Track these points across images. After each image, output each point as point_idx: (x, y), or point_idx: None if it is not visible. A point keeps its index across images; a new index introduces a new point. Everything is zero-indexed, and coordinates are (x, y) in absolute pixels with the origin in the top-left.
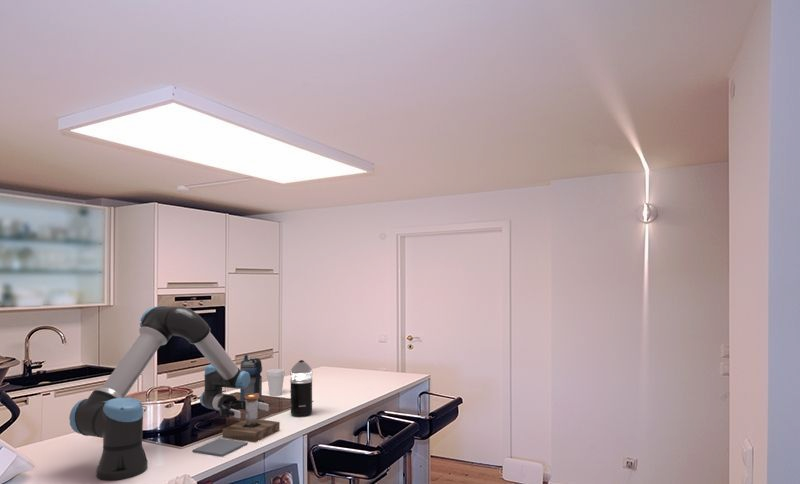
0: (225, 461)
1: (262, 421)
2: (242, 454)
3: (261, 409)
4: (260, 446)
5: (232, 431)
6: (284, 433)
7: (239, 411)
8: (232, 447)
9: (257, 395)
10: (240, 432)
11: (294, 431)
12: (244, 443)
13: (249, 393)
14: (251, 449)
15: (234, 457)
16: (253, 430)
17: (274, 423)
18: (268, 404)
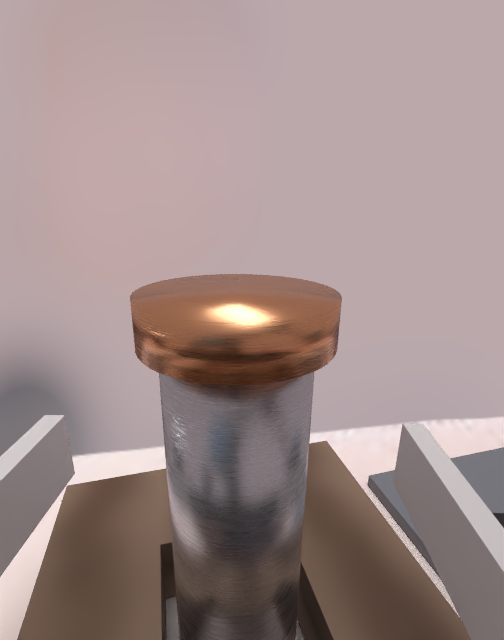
0: (500, 417)
1: (77, 616)
2: (424, 423)
3: (4, 569)
4: (328, 434)
5: (457, 625)
6: (127, 474)
7: (416, 424)
8: (466, 474)
9: (223, 276)
10: (391, 536)
11: (78, 461)
12: (391, 474)
13: (203, 314)
14: (375, 434)
15: (461, 422)
16: (307, 476)
17: (114, 485)
18: (49, 416)
